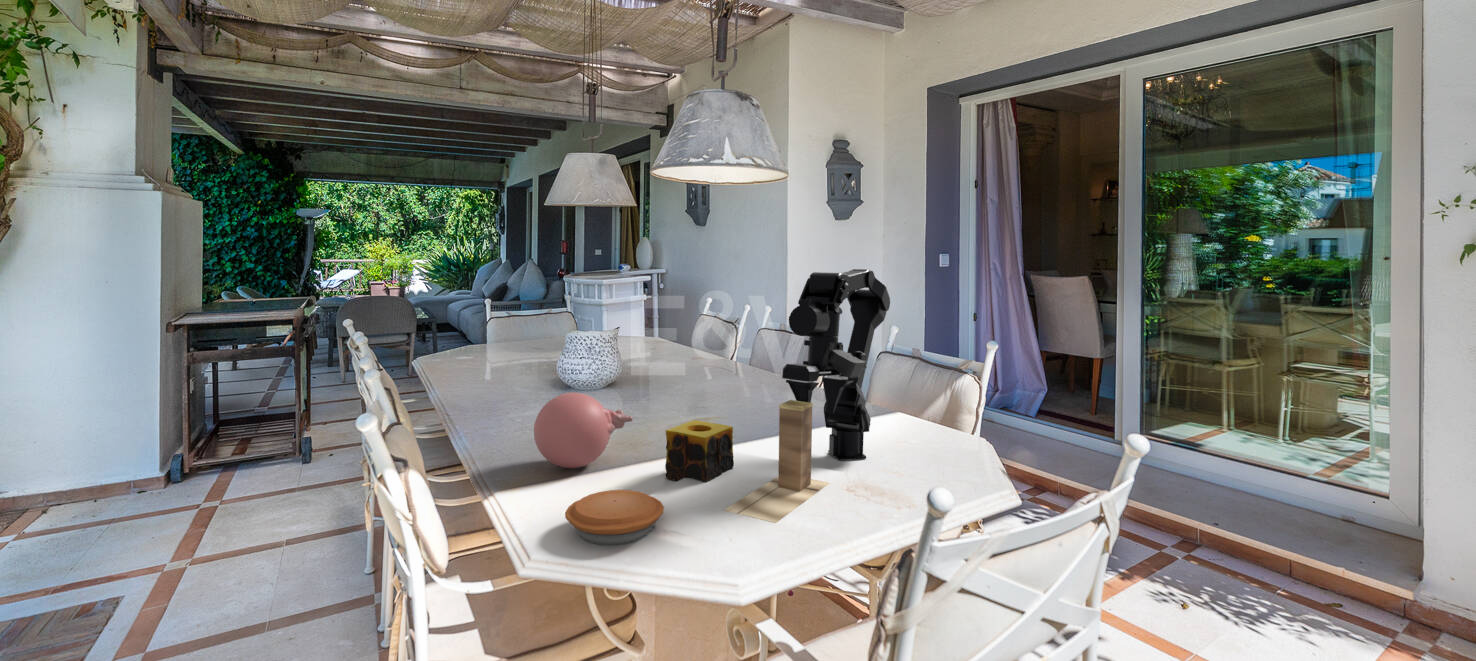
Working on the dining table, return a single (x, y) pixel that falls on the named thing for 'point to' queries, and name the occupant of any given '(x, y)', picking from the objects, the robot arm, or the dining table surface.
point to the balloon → (575, 429)
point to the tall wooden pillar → (795, 445)
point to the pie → (614, 516)
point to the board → (774, 500)
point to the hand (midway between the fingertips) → (818, 415)
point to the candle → (699, 451)
